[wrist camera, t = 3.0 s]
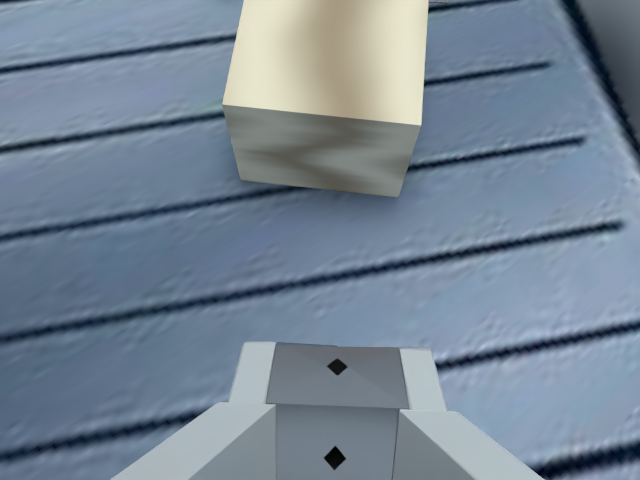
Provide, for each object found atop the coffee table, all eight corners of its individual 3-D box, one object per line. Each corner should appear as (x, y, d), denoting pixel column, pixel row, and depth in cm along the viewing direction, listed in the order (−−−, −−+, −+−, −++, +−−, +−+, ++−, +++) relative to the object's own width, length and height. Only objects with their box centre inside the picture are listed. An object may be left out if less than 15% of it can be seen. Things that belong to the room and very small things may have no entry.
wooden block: (240, 181, 33) (222, 104, 26) (269, 29, 37) (259, -72, 30) (397, 198, 33) (421, 125, 26) (409, 43, 37) (431, -56, 30)
